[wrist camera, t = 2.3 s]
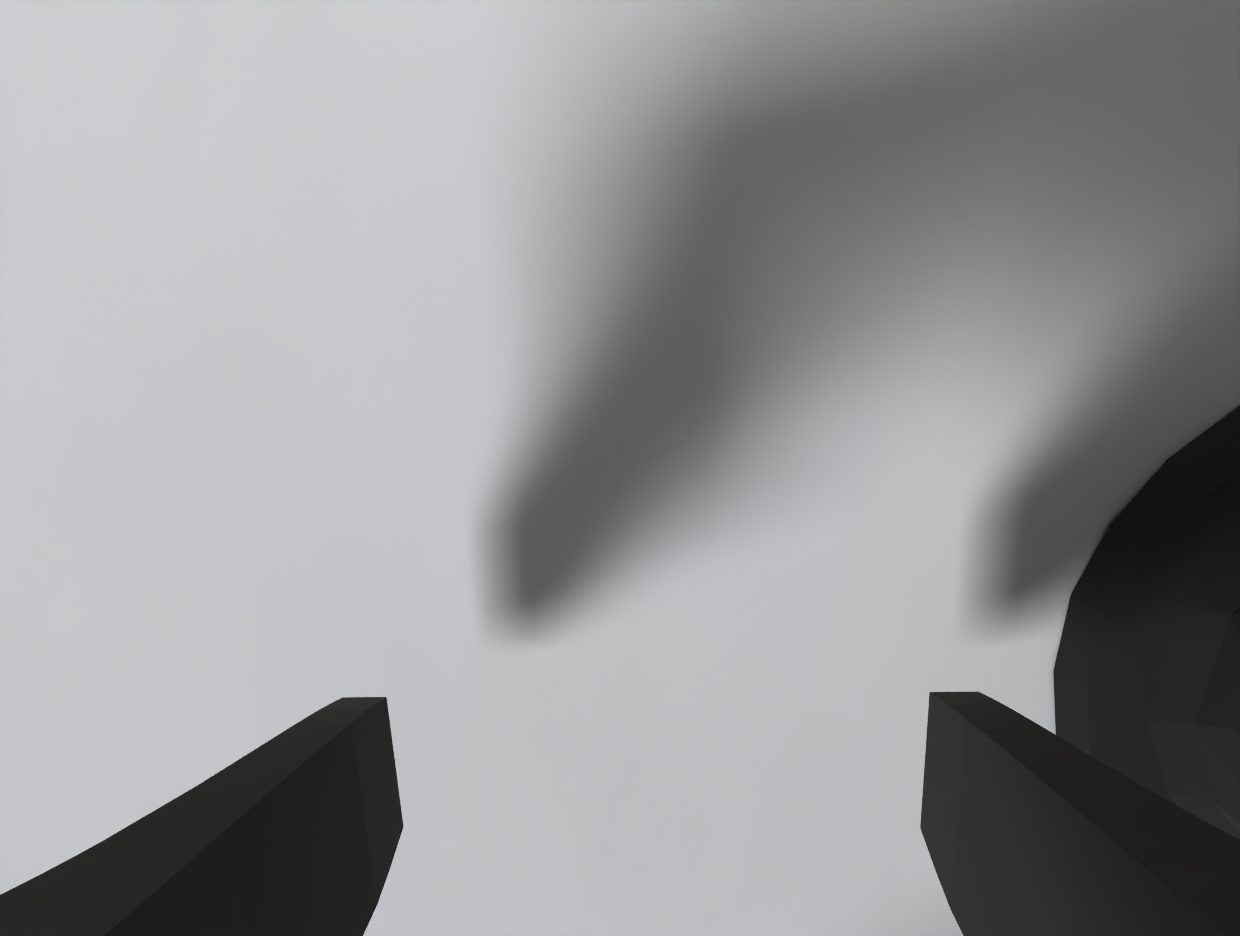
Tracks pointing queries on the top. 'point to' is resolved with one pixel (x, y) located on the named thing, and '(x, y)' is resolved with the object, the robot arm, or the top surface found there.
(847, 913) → the top surface
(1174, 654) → the handle grip
